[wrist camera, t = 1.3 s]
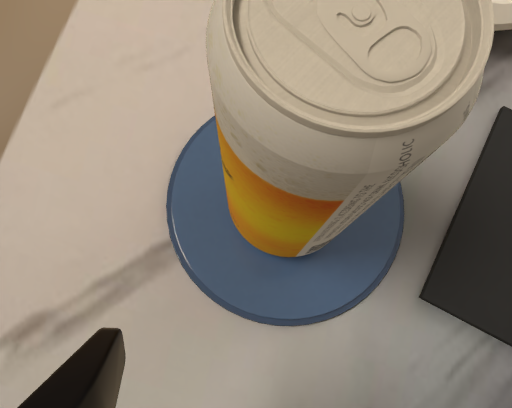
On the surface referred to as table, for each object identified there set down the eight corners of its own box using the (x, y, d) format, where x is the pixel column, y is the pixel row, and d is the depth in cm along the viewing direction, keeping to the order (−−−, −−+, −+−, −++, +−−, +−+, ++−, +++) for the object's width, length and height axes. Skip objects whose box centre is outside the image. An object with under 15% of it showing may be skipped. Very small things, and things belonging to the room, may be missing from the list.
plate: (383, 352, 22) (386, 353, 21) (136, 293, 22) (134, 292, 22) (418, 123, 25) (421, 119, 24) (201, 74, 25) (200, 70, 25)
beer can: (293, 125, 24) (368, -164, 10) (368, 210, 23) (580, 29, 8) (204, 191, 23) (137, -20, 8) (278, 284, 22) (346, 222, 7)
